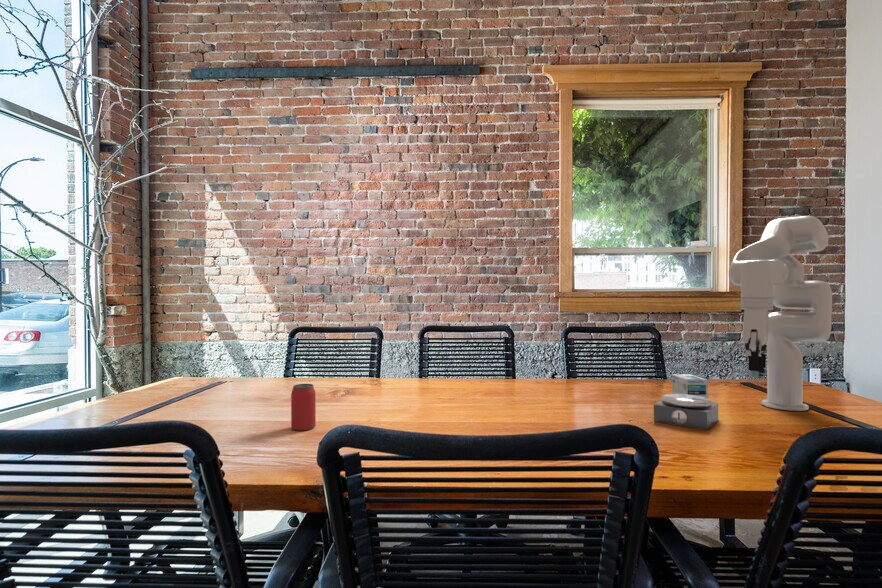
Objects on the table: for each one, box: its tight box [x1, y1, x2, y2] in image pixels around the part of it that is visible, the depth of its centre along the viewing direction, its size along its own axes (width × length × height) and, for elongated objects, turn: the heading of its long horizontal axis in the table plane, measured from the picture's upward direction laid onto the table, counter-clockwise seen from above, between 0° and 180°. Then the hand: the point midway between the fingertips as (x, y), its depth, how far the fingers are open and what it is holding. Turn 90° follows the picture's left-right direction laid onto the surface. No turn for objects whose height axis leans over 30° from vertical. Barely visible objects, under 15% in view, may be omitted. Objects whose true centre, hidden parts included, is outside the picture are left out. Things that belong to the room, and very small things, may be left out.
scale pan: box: [661, 393, 712, 408], centre depth 139 cm, size 13×13×1 cm
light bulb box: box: [671, 373, 709, 399], centre depth 153 cm, size 11×7×11 cm, turn 179°
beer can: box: [290, 383, 317, 432], centre depth 132 cm, size 7×7×12 cm
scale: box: [653, 399, 719, 431], centre depth 139 cm, size 15×14×5 cm
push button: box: [743, 341, 767, 379], centre depth 131 cm, size 7×5×10 cm
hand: (757, 368), depth 132 cm, fingers closed on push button, 5 cm apart
